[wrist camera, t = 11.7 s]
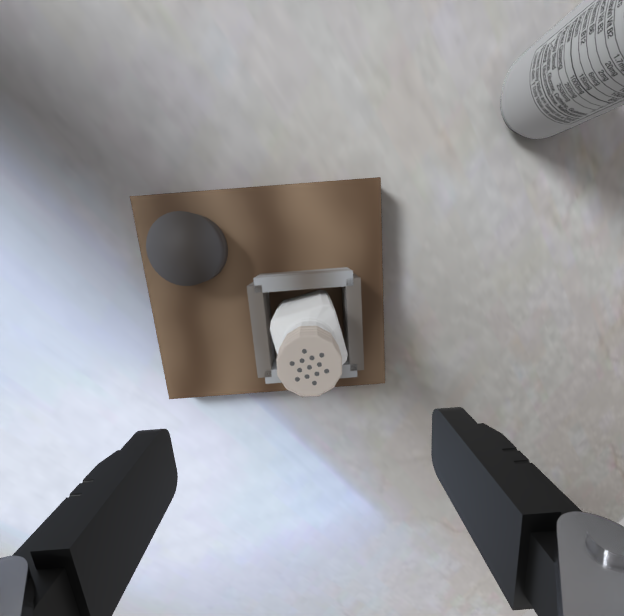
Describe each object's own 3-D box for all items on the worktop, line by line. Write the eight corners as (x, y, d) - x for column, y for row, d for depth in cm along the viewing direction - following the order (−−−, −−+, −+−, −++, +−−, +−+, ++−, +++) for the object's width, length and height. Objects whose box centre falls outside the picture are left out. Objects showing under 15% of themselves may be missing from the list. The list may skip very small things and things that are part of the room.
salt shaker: (276, 300, 23) (255, 340, 14) (326, 286, 23) (338, 316, 13) (292, 347, 24) (282, 414, 14) (340, 334, 24) (360, 393, 14)
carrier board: (179, 387, 27) (150, 420, 22) (145, 200, 23) (101, 188, 18) (379, 372, 27) (395, 401, 22) (374, 182, 23) (392, 166, 18)
